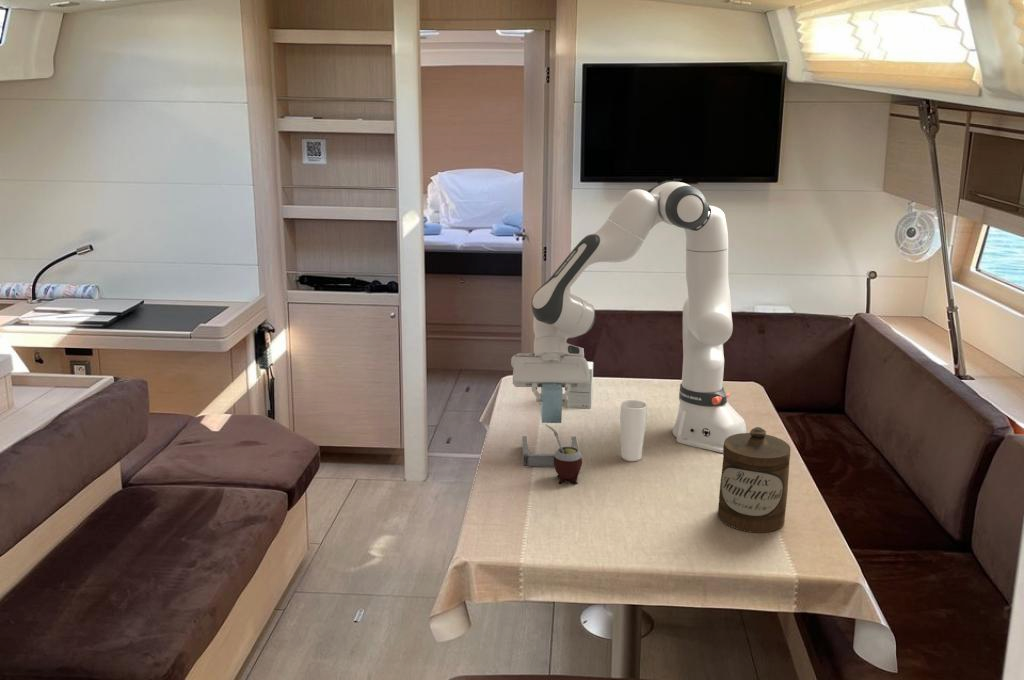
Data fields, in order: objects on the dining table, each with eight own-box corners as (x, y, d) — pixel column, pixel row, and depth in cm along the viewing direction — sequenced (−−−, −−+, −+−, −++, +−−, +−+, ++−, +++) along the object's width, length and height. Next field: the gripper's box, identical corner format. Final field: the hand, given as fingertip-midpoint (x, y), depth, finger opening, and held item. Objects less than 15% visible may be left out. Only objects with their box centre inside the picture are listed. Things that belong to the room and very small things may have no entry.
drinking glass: (647, 455, 252) (650, 402, 248) (639, 465, 246) (642, 410, 242) (623, 451, 255) (625, 398, 250) (614, 460, 249) (617, 406, 245)
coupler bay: (522, 446, 257) (522, 436, 256) (575, 446, 257) (575, 436, 256) (523, 466, 244) (523, 455, 243) (579, 466, 244) (580, 455, 244)
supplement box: (568, 399, 293) (569, 360, 290) (592, 400, 292) (594, 361, 289) (566, 407, 286) (567, 367, 283) (591, 409, 285) (592, 368, 282)
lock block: (540, 411, 252) (541, 379, 250) (559, 412, 253) (560, 379, 250) (541, 422, 245) (542, 389, 242) (561, 423, 245) (562, 390, 242)
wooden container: (712, 526, 214) (720, 434, 208) (723, 499, 228) (730, 412, 221) (780, 538, 209) (790, 445, 203) (787, 510, 222) (796, 421, 216)
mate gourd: (587, 480, 237) (589, 423, 232) (566, 490, 231) (568, 432, 227) (564, 471, 242) (565, 416, 237) (543, 480, 236) (544, 424, 232)
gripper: (511, 347, 250) (511, 395, 243) (589, 348, 250) (591, 396, 244) (510, 358, 255) (510, 405, 249) (587, 359, 256) (589, 406, 249)
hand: (551, 401), depth 246 cm, fingers closed on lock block, 5 cm apart
